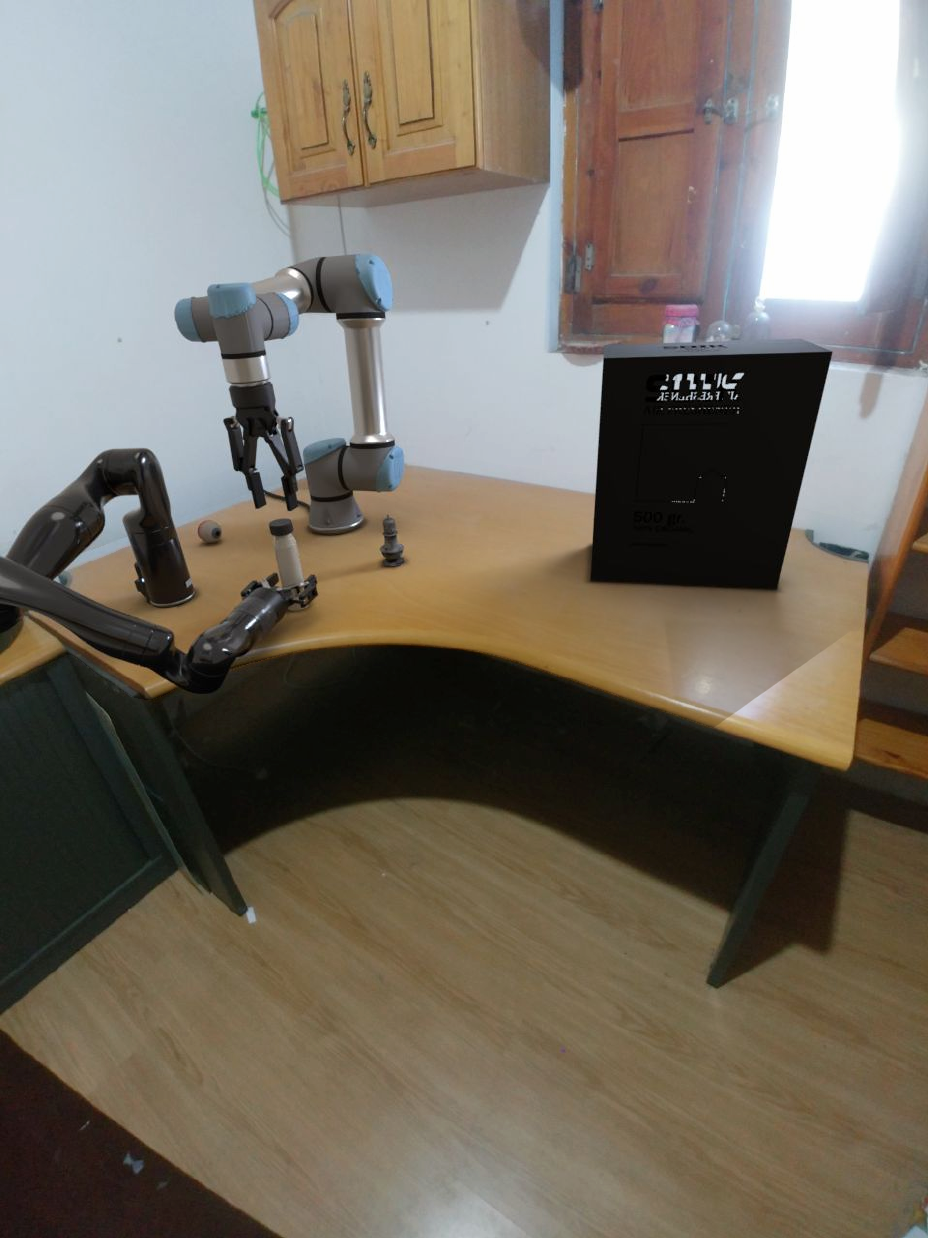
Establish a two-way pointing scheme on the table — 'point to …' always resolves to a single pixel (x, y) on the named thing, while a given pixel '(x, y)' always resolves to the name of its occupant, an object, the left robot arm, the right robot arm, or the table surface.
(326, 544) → the table surface
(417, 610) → the table surface
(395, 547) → the grey tall tiered piece
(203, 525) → the eyeball
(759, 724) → the table surface
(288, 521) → the cap
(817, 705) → the table surface
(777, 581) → the cardboard box
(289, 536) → the bottle
